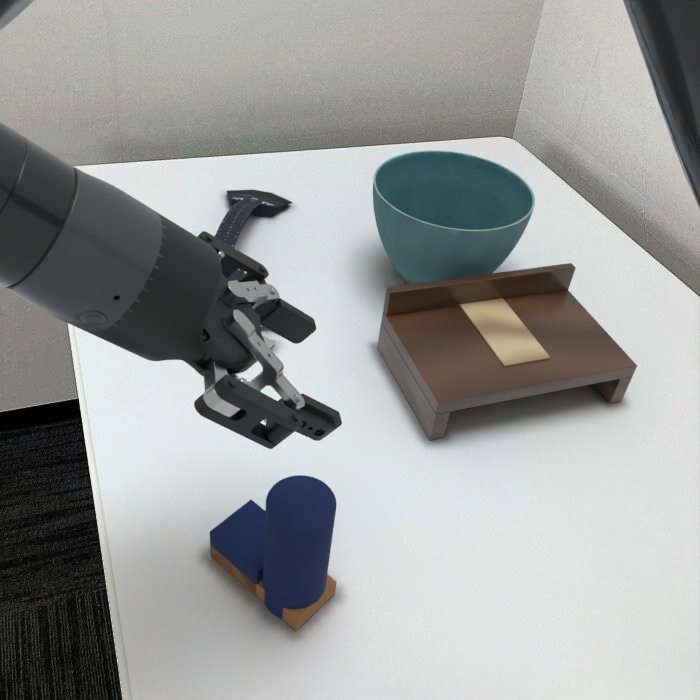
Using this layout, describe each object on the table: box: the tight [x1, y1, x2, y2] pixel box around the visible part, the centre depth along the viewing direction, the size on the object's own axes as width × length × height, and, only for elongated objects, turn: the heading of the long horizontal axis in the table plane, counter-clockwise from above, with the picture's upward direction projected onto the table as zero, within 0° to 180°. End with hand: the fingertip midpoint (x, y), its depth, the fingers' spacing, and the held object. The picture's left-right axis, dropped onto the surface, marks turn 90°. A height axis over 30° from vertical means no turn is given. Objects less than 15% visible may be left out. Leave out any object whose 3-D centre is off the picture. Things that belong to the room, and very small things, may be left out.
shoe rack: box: [376, 262, 638, 441], centre depth 79 cm, size 14×22×8 cm, turn 110°
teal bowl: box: [372, 150, 536, 284], centre depth 91 cm, size 18×18×12 cm
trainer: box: [209, 474, 337, 631], centre depth 57 cm, size 9×5×11 cm, turn 50°
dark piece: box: [214, 189, 293, 279], centre depth 95 cm, size 9×25×3 cm, turn 170°
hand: (318, 377), depth 52 cm, fingers open, 8 cm apart
